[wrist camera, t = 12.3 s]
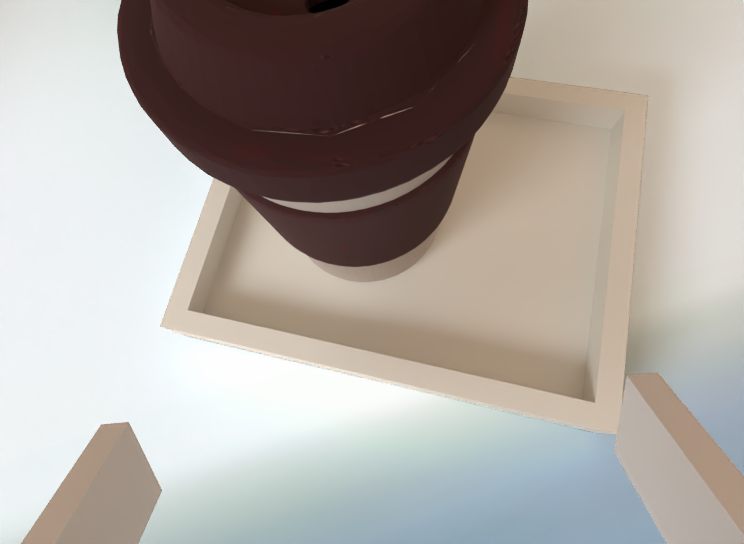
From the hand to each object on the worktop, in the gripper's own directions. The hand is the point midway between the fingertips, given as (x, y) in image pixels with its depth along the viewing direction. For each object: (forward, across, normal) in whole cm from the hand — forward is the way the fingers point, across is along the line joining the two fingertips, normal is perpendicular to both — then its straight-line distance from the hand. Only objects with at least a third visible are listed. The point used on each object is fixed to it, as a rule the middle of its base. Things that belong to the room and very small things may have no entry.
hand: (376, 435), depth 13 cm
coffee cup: (+13, 0, +1) cm, 13 cm away
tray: (+14, +2, 0) cm, 14 cm away
